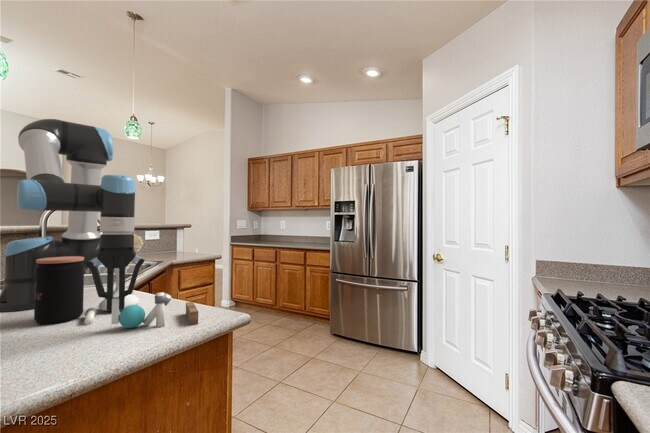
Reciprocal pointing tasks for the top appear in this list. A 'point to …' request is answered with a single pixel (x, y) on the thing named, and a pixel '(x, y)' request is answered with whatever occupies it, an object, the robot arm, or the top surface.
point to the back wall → (192, 313)
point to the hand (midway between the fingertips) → (115, 322)
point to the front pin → (152, 314)
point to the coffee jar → (58, 289)
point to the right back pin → (160, 309)
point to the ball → (131, 316)
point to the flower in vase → (130, 298)
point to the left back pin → (90, 315)
